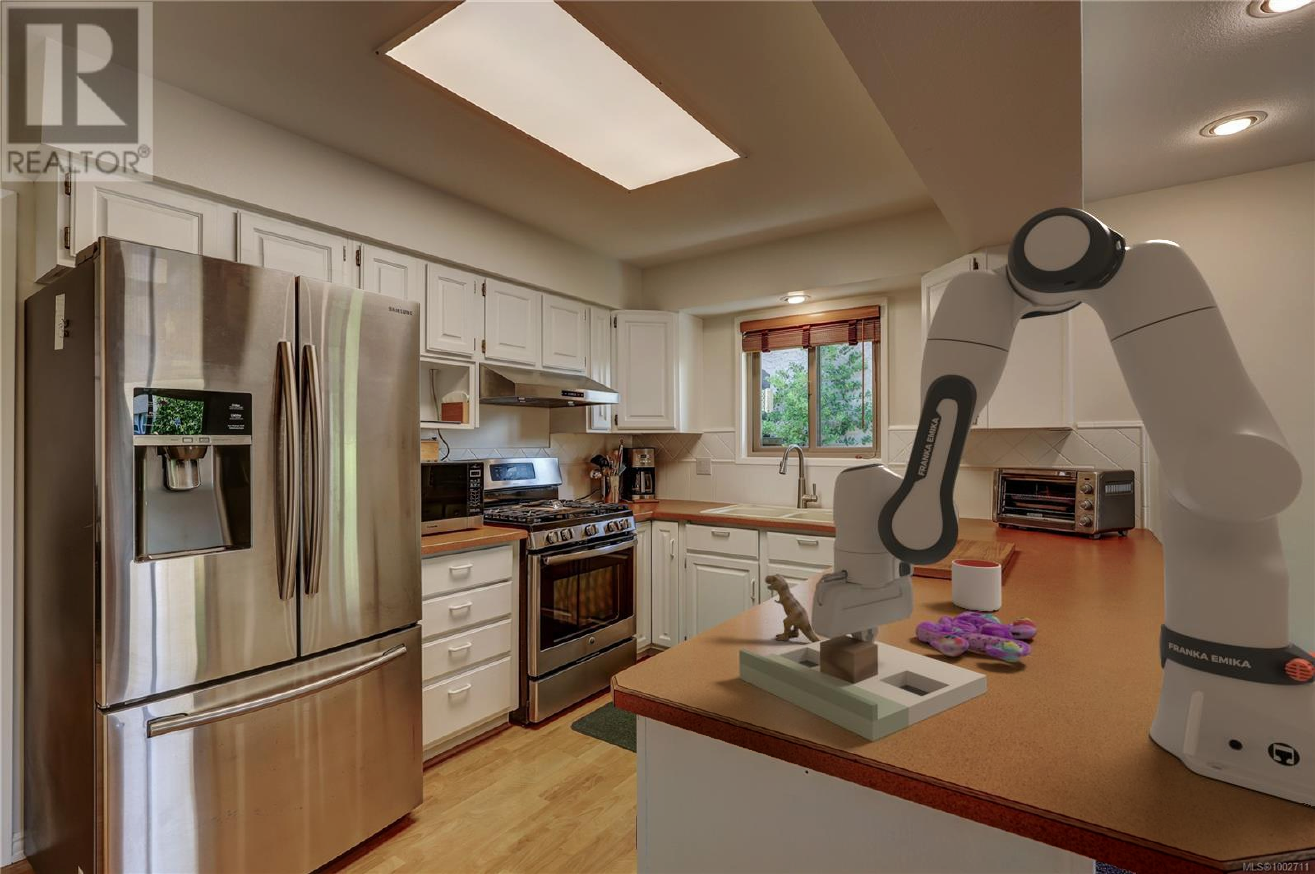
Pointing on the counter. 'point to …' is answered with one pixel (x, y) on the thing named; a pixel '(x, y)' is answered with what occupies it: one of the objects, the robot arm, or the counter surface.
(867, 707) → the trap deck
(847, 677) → the walnut block
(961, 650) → the decorative sculpture
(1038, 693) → the counter surface
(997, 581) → the cup
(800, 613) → the toy
